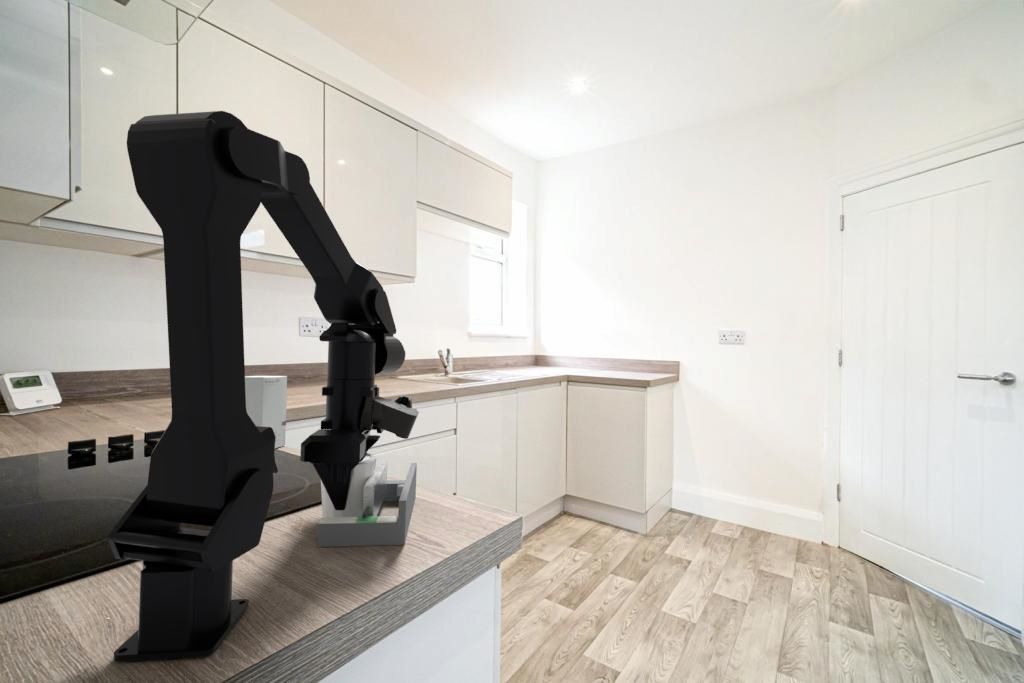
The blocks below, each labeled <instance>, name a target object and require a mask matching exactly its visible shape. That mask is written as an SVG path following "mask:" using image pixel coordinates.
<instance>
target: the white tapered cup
mask: <svg viewBox="0 0 1024 683" xmlns="http://www.w3.org/2000/svg"><path fill="white" fill-rule="evenodd" d="M376 462H377V457H376V455H374V454H371V453H368V452H367V455H366V457H365V458H364V459H363V460H362V461H361V462H360V463H359V464H358V465H357V466H356V467H354V471H353V475H352V480H351V485H350V490H349V495H348V499H347V504H346V508H345V509H344V510H335V508H334V506H333V504H332V502H331V500H330V497H329V495H328V493H327V491H326V489H325V487H324V485H323V483H322V481H321V480H320V491H321V508H322V512H321V513H322V517H359V516H362V515H363V489H364V486H365V484H366V482H367V481H368V479H369V477H370V476H372V475H373V474H374V472H375V467H376V466H377V464H376Z"/></svg>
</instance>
